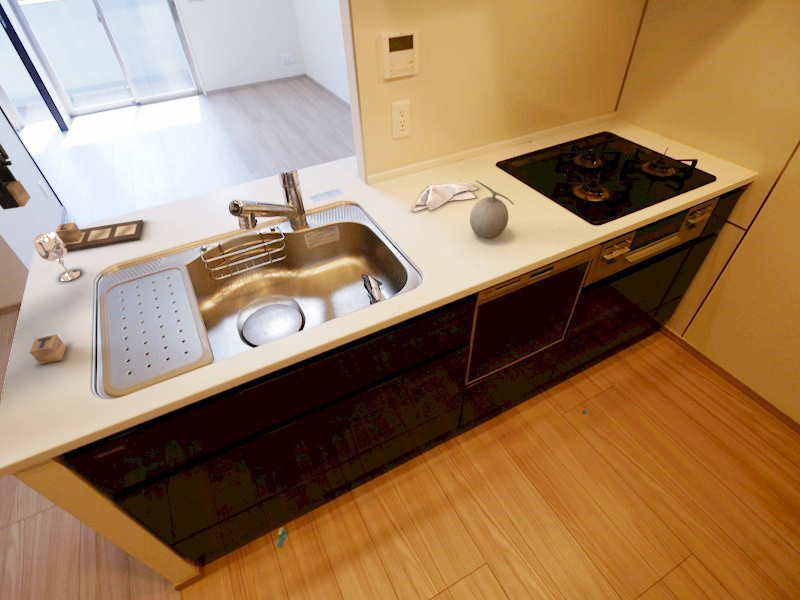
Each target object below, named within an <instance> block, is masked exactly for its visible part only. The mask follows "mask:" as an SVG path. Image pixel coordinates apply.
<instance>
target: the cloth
mask: <svg viewBox="0 0 800 600" xmlns="http://www.w3.org/2000/svg"><path fill="white" fill-rule="evenodd" d="M475 190H478V188H477V187H476V186H475V185H473V183H472V182H462V183H459V182H458V183H457V182H455V183H454V182H453V183H442V184H430V185H429V187H427V188H426V189H425V190H424V191H423V193H422V194H421V196H420V197H419V198H418V200H417V201H416V202H415V203H414V205H413V206H412V211H413V212H418V211H422V210H425V209H428V210H429V211H433V210H435V209H437V208H440V207H441V206H443V205H444V204H445V203H448V202H452V201H453V202H454V201H465V200H471V199H475V198H476V196H475V195H474V194H473V191H475Z"/></svg>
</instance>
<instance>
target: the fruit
mask: <svg viewBox="0 0 800 600" xmlns="http://www.w3.org/2000/svg"><path fill="white" fill-rule="evenodd" d="M475 182H476V183H478V184H480V185H481V187H484V188H485V189H487V190H488V192H490V193H491V195H492V196H487V197H482V198H481V199H479V200H478V201H476V202H475V204H474V205H473V206H472V209H471V211H470V215H469V223H470V227H471V230H472V231H473V233H474V234H475V235H476V236H477V237H478V238H481V239H485V240H493V239H496V238H498V237H500V236H501V235H502V233H504V232H505V230H506V228H507V226H508V222H509V211H508V208H507V205H506V204H505V203H504V202H503V200H501V199H499V198H498V197H497V196H500V197H502V198H504V199H506V200H508V202H510V203H511V204H512V205H515V203H514V202H513V201H512V200H511V199H510V198H508V197H506V196H505V195H503V194H501V193H499V192H496V191H495V190H493V189H492V188H490V187H489V186H487V185H485V184H484V183H482V182H480V181H479V180H475Z"/></svg>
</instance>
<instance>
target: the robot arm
mask: <svg viewBox="0 0 800 600" xmlns="http://www.w3.org/2000/svg"><path fill="white" fill-rule="evenodd" d="M9 159H10V156H9V154H8V153H7V151H6V149H5V148H4V147H3V145H2V144H1V143H0V208H2V210H11V209H19V208H20V207H19V205H18V203H17V202H16V200H15V199H14V198H13V196H12V195H11V193H10V192H9V191H8V189H7V187H6V186H5V185H4V183H5V182H12V181H18V180H17V179H16V177H15V175H14V174H13V172H12V171H11V169H10V168H9V166H12V165H13V163H12V160H9Z"/></svg>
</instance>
